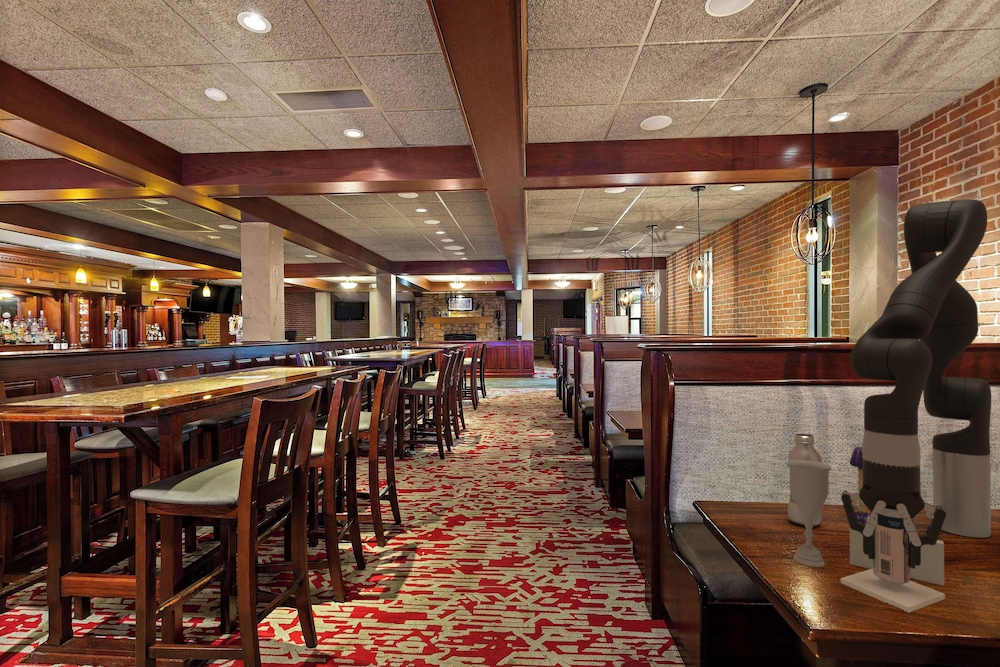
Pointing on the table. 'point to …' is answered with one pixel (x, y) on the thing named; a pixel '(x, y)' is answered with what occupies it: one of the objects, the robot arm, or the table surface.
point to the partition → (927, 570)
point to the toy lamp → (859, 482)
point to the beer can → (891, 548)
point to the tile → (893, 591)
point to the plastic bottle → (808, 453)
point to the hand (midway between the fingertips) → (891, 561)
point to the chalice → (809, 502)
